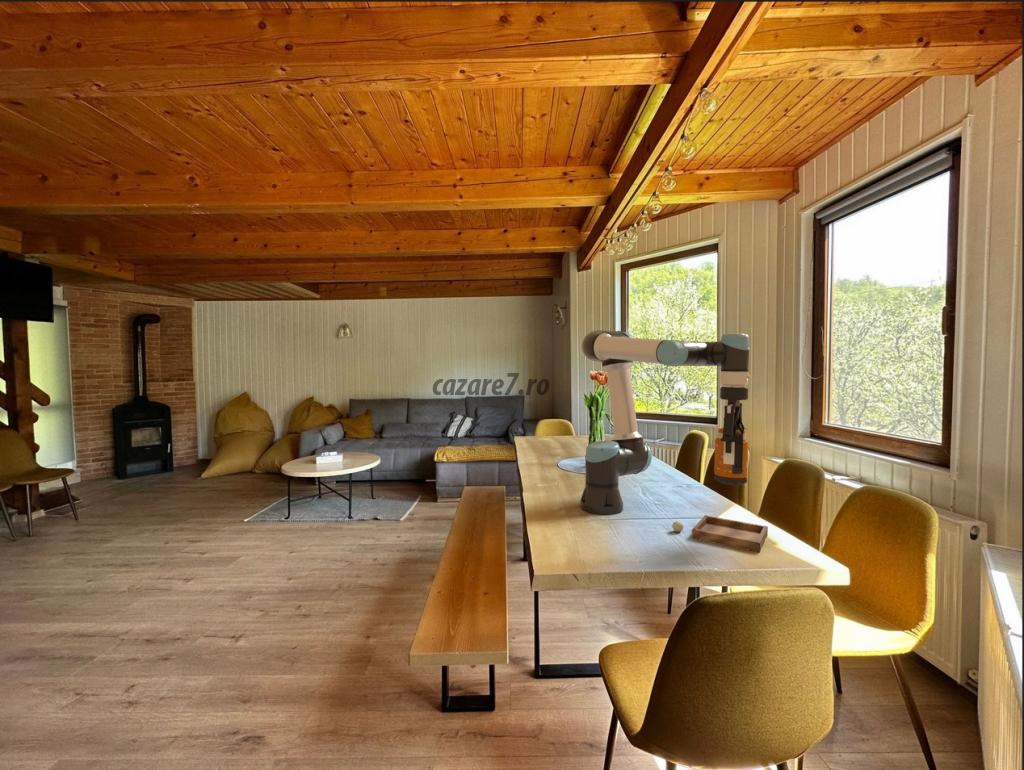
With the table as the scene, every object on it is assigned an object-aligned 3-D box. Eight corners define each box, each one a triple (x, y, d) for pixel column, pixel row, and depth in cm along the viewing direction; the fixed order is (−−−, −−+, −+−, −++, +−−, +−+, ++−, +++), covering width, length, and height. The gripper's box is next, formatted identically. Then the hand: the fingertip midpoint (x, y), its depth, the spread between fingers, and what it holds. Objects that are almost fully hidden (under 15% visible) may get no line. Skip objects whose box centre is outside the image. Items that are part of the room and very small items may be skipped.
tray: (691, 537, 140) (692, 529, 139) (704, 523, 153) (705, 515, 153) (759, 552, 129) (760, 542, 129) (767, 534, 142) (767, 526, 142)
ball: (670, 531, 145) (671, 521, 144) (673, 528, 147) (674, 518, 147) (681, 534, 143) (681, 523, 143) (684, 531, 145) (684, 520, 145)
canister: (740, 479, 145) (741, 414, 144) (755, 488, 134) (757, 418, 133) (710, 478, 146) (711, 414, 145) (722, 487, 135) (724, 418, 134)
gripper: (741, 388, 127) (739, 469, 128) (754, 385, 146) (752, 456, 147) (711, 387, 132) (710, 465, 133) (728, 384, 150) (726, 453, 151)
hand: (732, 460), depth 140 cm, fingers closed on canister, 10 cm apart
